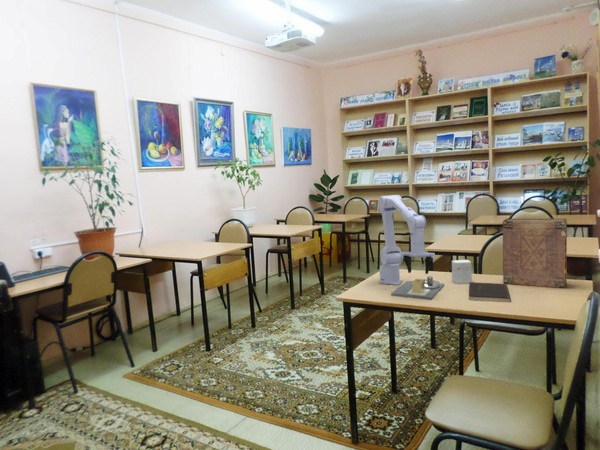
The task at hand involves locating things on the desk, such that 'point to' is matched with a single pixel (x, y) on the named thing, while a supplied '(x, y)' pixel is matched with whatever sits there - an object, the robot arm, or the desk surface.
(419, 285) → the link block
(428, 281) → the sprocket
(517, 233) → the book
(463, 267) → the small box
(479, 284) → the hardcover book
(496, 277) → the desk surface
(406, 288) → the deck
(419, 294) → the pad
